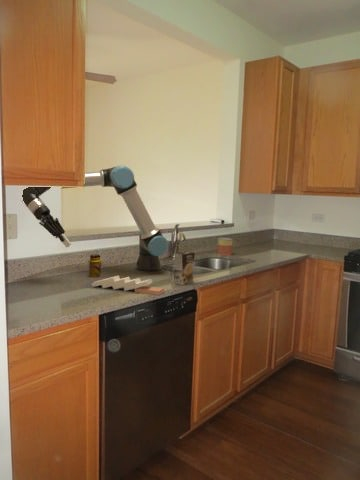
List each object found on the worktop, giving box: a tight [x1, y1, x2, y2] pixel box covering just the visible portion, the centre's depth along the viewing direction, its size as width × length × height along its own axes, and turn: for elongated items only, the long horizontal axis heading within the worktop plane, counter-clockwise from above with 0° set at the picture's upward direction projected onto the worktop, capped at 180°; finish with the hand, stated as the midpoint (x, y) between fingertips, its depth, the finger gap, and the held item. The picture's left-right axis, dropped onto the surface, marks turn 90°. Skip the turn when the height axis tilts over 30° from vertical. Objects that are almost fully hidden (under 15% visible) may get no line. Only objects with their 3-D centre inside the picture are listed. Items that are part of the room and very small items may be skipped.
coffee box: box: [172, 250, 195, 286], centre depth 205 cm, size 9×6×16 cm
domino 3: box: [112, 277, 142, 290], centre depth 186 cm, size 2×6×12 cm
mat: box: [80, 281, 140, 295], centre depth 189 cm, size 11×30×1 cm, turn 73°
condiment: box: [88, 253, 102, 278], centre depth 211 cm, size 7×8×12 cm
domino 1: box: [92, 275, 121, 287], centre depth 190 cm, size 2×6×12 cm
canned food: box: [216, 237, 234, 256], centre depth 299 cm, size 11×11×12 cm
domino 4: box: [124, 278, 153, 291], centre depth 185 cm, size 2×6×12 cm
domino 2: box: [102, 276, 131, 288], centre depth 188 cm, size 2×6×12 cm
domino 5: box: [135, 285, 165, 296], centre depth 183 cm, size 2×6×12 cm
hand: (68, 245), depth 194 cm, fingers closed
